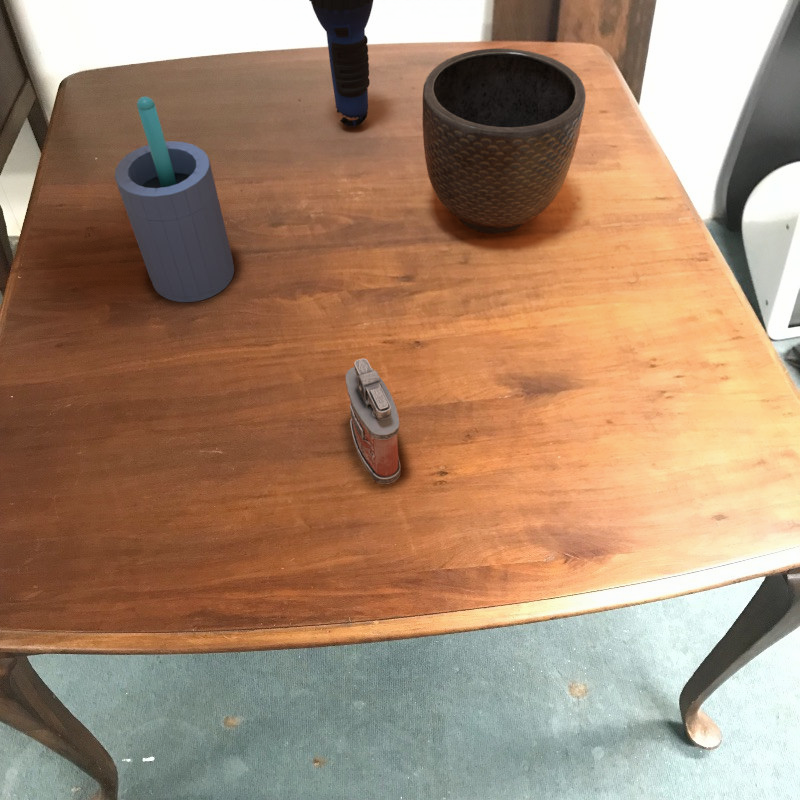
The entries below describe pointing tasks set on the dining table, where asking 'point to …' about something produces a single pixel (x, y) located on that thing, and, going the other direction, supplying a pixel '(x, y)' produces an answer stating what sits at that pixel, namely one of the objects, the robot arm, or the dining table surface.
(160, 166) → the brush
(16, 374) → the dining table surface
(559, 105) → the planter
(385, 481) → the lighter
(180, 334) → the dining table surface
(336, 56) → the flashlight
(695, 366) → the dining table surface
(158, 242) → the jar
